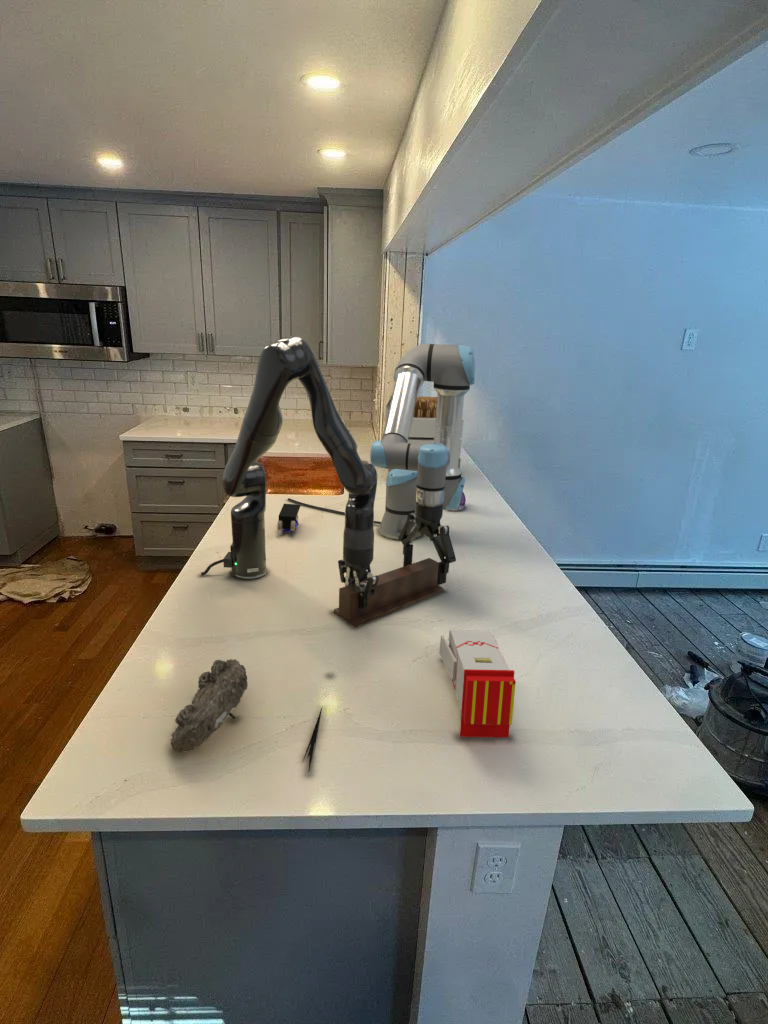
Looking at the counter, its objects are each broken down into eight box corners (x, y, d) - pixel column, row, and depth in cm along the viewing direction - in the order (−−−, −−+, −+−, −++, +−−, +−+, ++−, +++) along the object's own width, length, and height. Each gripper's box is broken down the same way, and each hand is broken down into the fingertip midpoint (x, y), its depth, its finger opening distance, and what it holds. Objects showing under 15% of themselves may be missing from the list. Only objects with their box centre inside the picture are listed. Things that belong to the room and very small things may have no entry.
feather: (331, 679, 122) (336, 673, 122) (307, 777, 96) (313, 769, 95) (324, 675, 122) (329, 669, 121) (298, 772, 95) (304, 764, 95)
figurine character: (296, 541, 193) (301, 521, 206) (295, 521, 189) (301, 502, 203) (276, 540, 193) (283, 520, 206) (275, 520, 189) (282, 501, 203)
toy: (489, 613, 130) (525, 677, 101) (485, 667, 133) (518, 744, 104) (437, 612, 130) (457, 676, 101) (434, 666, 133) (453, 743, 103)
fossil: (195, 660, 117) (247, 628, 112) (227, 691, 120) (279, 661, 115) (146, 746, 98) (206, 711, 93) (185, 779, 101) (245, 748, 96)
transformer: (381, 463, 289) (385, 382, 275) (444, 464, 292) (450, 384, 279) (389, 482, 257) (393, 392, 243) (459, 483, 261) (467, 394, 247)
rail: (354, 627, 140) (355, 598, 138) (333, 612, 147) (333, 585, 144) (444, 591, 160) (446, 565, 158) (422, 579, 167) (423, 555, 164)
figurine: (452, 513, 222) (455, 476, 217) (438, 505, 231) (441, 469, 226) (471, 510, 227) (475, 474, 221) (457, 502, 235) (460, 467, 230)
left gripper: (329, 536, 142) (328, 597, 148) (364, 556, 132) (362, 620, 138) (352, 530, 147) (351, 589, 152) (389, 548, 136) (386, 611, 142)
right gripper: (388, 493, 159) (384, 562, 166) (454, 518, 141) (447, 595, 148) (408, 489, 163) (403, 556, 170) (474, 513, 146) (466, 587, 153)
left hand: (356, 603), depth 145 cm, fingers closed on rail, 4 cm apart
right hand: (423, 574), depth 159 cm, fingers open, 13 cm apart
